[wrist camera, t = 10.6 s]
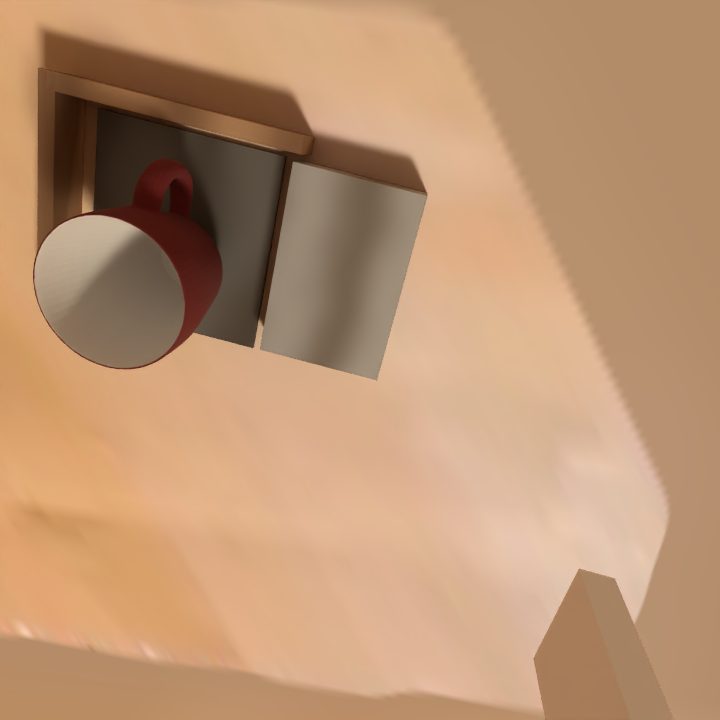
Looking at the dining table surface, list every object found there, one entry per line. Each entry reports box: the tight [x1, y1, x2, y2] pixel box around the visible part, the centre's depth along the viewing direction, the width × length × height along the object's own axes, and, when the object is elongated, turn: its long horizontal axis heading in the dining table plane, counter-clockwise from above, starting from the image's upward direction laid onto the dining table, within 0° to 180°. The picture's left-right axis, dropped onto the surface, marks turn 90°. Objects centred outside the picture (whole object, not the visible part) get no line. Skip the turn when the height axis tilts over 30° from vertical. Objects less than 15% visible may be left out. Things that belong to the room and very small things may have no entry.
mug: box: [33, 158, 223, 369], centre depth 31 cm, size 11×8×10 cm
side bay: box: [38, 68, 427, 380], centre depth 34 cm, size 23×14×3 cm, turn 76°
